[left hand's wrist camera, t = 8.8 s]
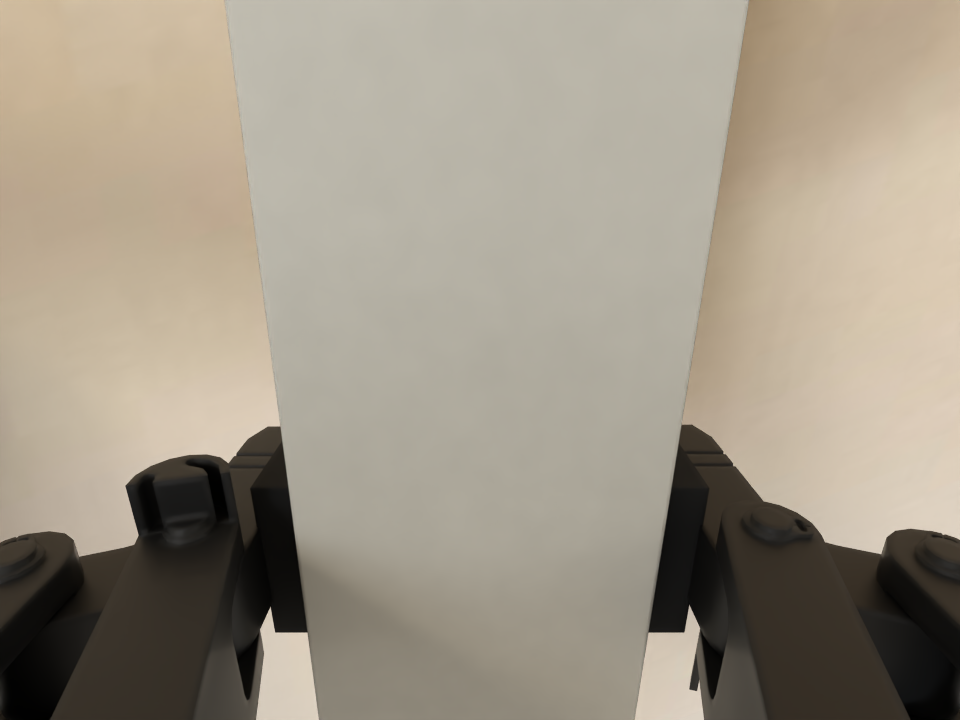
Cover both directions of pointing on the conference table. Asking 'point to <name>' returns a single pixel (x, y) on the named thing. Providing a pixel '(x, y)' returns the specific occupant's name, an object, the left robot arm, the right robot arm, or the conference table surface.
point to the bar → (482, 330)
